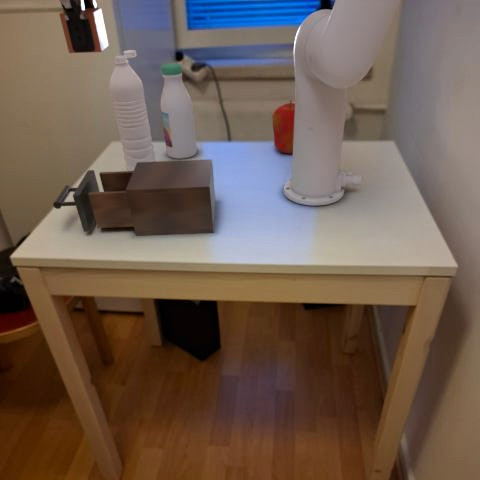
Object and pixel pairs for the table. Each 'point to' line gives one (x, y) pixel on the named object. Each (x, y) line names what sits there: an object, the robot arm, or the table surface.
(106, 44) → the block
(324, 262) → the table surface
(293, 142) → the robot arm
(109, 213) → the drawer
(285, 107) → the apple
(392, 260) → the table surface
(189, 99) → the milk bottle
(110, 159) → the table surface
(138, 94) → the water bottle
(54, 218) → the table surface
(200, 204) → the cabinet
